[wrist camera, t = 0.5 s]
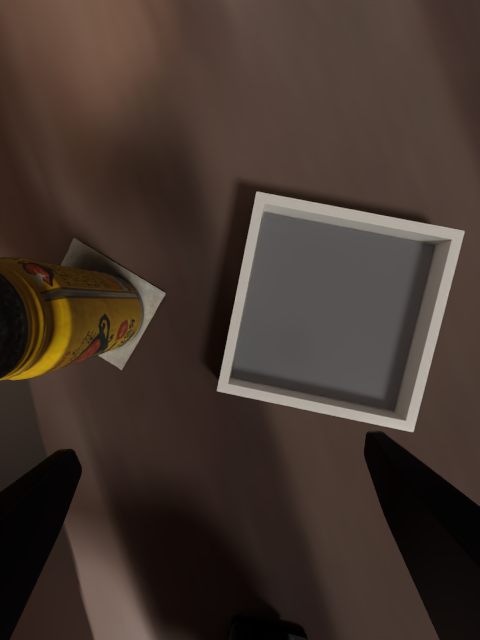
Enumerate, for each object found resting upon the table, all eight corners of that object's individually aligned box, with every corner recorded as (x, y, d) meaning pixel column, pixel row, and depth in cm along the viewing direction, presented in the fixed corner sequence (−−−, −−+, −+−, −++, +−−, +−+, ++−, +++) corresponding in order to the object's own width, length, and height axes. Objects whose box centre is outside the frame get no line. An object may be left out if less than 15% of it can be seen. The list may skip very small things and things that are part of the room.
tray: (396, 419, 22) (413, 432, 20) (220, 382, 22) (216, 391, 20) (442, 238, 21) (464, 231, 18) (255, 202, 21) (256, 191, 19)
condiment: (122, 369, 22) (-24, 447, 10) (34, 316, 22) (-214, 332, 10) (167, 293, 22) (65, 283, 10) (76, 238, 22) (-135, 161, 10)
